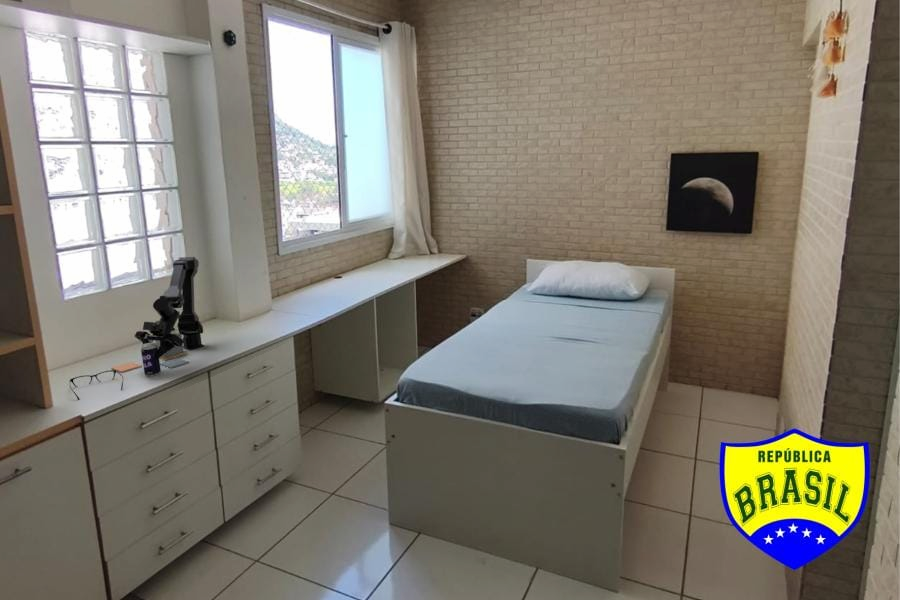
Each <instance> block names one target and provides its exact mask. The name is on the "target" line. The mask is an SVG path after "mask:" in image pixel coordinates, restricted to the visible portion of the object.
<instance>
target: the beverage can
mask: <svg viewBox="0 0 900 600" xmlns="http://www.w3.org/2000/svg"><path fill="white" fill-rule="evenodd" d="M157 351H158V347H157V345H156V342H152V343H145V344H143V343H142V344H141V346H140V353H141V359H142V368H143V373H144V374H145V376H146V377H154V375H155V376H158V375H160V373H161V372H162V371H161V365H160V363H161V362H160V359H157V360H156V359H155V356H156V353H157ZM157 374H158V375H157Z"/></svg>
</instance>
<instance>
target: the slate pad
mask: <svg viewBox="0 0 900 600" xmlns="http://www.w3.org/2000/svg"><path fill="white" fill-rule="evenodd" d="M186 363H188V364H189V363H190V361H189V360H185V359H183V358H179V357H176V358H173V359H170V360H166V361H164V362H160V366H161V365H162V366H161V367H163V366H165V367H164V368H166V367H168V368H167V369H169V368H172V369H174V368H173V367H175V368H177V367H176V366H178V367H181V366H184V365H187V364H186ZM183 364H184V365H183ZM180 365H181V366H180Z"/></svg>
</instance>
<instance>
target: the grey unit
mask: <svg viewBox="0 0 900 600" xmlns="http://www.w3.org/2000/svg"><path fill="white" fill-rule="evenodd" d="M170 334H176V335H178V336H179V337H180V338H182V339H183V335H181V334H180V333H179V332H176V331H171V333H170ZM155 343H156V345H157V347H158V349H159V346H160V341H155ZM174 346H175V345H174ZM182 355H183V356H185V355H188V351H186V350H184V348H183V344H182V346H181V347H178V346H175V348H172V349H171V350H169V351H168V352H166V353H165V354H164V355H162V356H161V357H160V358H159V360H161V359H162V361H164V360H166V361H169V360H168V359H170V360H173V359H176V358H179V357H178V356H180V357H183V356H182ZM175 357H176V358H175ZM172 358H173V359H172Z"/></svg>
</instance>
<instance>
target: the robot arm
mask: <svg viewBox="0 0 900 600" xmlns="http://www.w3.org/2000/svg"><path fill="white" fill-rule="evenodd" d="M172 264H173V265H172V268H173V269H172V274H171V277H170V282H169V287H168V288H167V289H166V290H164V292H163V295H160V296H159V298H157V299H156V300H155V301H154V302H153V304H152V308H153V309H154V311H155V312H156V313H157V314H158V315H159V317H160V318H159V320H156V321H144V322H143V327H142V330H137V331H136V332H135V334H134V337H135V339H137V340H139V341H140V342H142V345H143V344H145V343H154V341H155V342H156V341H160V346H159V349H158V351H157V353H156V356H155V359H156V360H157V359H159V358H160V357H161V356H162V355H164V354H165V353H166V352H168V351H169V350H171V349H172V348H175V346H178V347H181V346H182V344H183V349H186V350H194V349H198V348H201V347H204V346H205V345H204V344H202V336H201V334H203V333H204V326H203V324H202V322H201V321H200V317H199V315H198V314H197V312H196V311H195V276H196V275H197V273H198V271H199V270H198V269H199V267H200V266H199V264H200V262H199V259H196V257H195V256H184V257H179V258H178V259H176V260H174V261H173V263H172ZM180 308H181V309H182V312H181V313H180V311H178V310H177V309H180ZM176 324H177V325H176ZM175 325H176V326H177V329H178V330H177V331H178V333H180V334H181V335H182V338H180V337H179V336H178V335H176V334H170V333H171V332H176V327H175ZM147 331H149V332H147ZM174 345H175V346H174ZM159 360H160V359H159Z"/></svg>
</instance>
